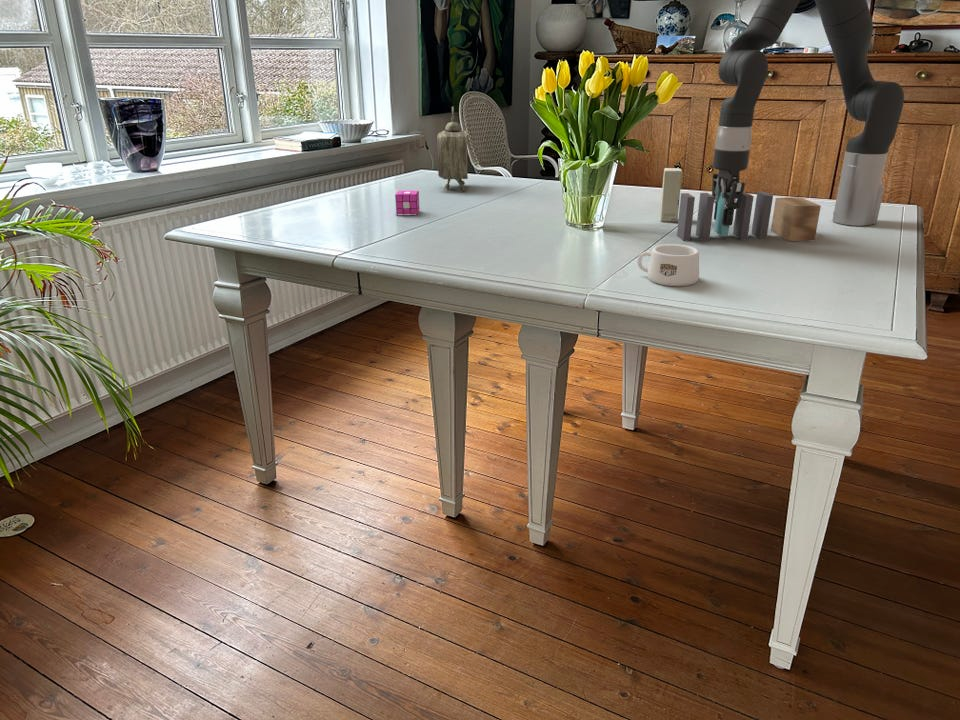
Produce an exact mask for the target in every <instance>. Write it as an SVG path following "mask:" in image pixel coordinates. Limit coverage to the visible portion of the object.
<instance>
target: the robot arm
mask: <svg viewBox="0 0 960 720" xmlns="http://www.w3.org/2000/svg"><path fill="white" fill-rule="evenodd" d="M814 1H815V4H816V7H817V10H818V12H819V16H820V20H821V22H822V26H823V29H824V32H825V36H826V38H827V40H828V41H827V42H828V43H829V45H830V50H831V52H832V55H833V58H834V62H835V64H836V67H837V72H838V74H839V78H840V83H841V89H842V93H843V99H844V102H845V107H846V109H847V112H848V114H849V116H850V117H851V119H854V120H855V121H857V122H858V121H859V122H865V124H864V129H863V130H862V132H860V134H858V135H856V136H853V137H851V138H849V139H848V140H847V142H846V145H845V152H844V157H843V162H842V168H841V171H840V172H841V173H840V178H839V179H840V180H839V183H838V189H837V195H836V199H835V204H834V211H833V213H832V221H833V222H834V223H837V224H840V225H846V226H856V227H857V226H860V227H863V226H871V225H877V223H878V218H879V215H880V214H879V213H880V209H881V204H882V200H883V197H884V196H883V195H884V191H885V185H884V184H882V182H883V178H884V172H885V169H886V162H887V158H888V154H889V150H890V146H891V145H892V143H893V141H894V140H895V137H896V134H897V132H898V131H897V130H898V127H899V126H898V125H899V123H900V118H901V116H902V112H903V109H904V104H905V103H904V102H905V93H904V89H903V86H902V85H900V84H899V83H898V82H895V81H885V80H883V81H882V80H875V78H874V77H873V75H872V72H871V69H870V65H869V62H868V53H869V52H868V51H869V47H870V43H871V40H872V35H873V31H874V22H873V19H872V14H871V10H870V9H869V8H870V7H869V4H868V2H867V0H814ZM800 2H801V0H761V1H760V3H759V4H758V7H757V8H756V10H755V12H754V13H753V15H752V17H751V19H750V20H749V23H748V25H747V26H746V27H745V29H743V30H742V32H740V33H739V35H738V36H737V37H736V38H735V40H734V41H733V42H732V43H731V44H730V45H729V46H728V48H727V49H726V50H725V52H724V53H723V55H722V57H721V58H720V62H719V65H718V77H719V79H720V81H721V82H722V83H724V84H725V85H729V86H737V88H736V90H735V91H734V95H733V96H730V97H727V98H725V99H724V100H723V101H722V103H721V106H720V113H719V120H718V126H717V127H718V128H717V132H716V136H715V142H714V152H713V159H712V160H713V161H712V168H713V169H714V170H717V171H718V173H713V174H712V185H711V187H712V188H711V195H712V196H714V210H713V213H714V214H713V220H714V221H715V220H716V212H717V203H718V198H719V194H720V192H722V199H724V211H723V219H722V225H724V226H729V227H730V226H732V225H733V224H734V222H733V221H734V217H735V210H736V208H739V207H740V203H741V199H742V195H743V192H745V186H746V183H745V182H741V179H740V172H741V171H745V170H747V169H748V165H749V161H750V160H749V159H750V151H751V143H752V138H753V136H752V134H753V132H752V131H753V129H752V128H753V121H754V115H755V114H754V113H755V107H756V104H757V102H758V100H759V99H760V95H761V93H762V90H763V87H764V85H765V82H766V79H767V77H768V72H769V62H768V59H767V56H766V55H765V53H764V52H763V51H762V50H764V49H767V48H770V47H773V46H774V45H775V44H776V42H777V41H778V39H779V38H780V37H781V34H782V33H783V30H785V28H786V26H787V23H788V22H789V20H790V19H791V16H792V15H793V14H794V12H795V11H796V8H797V6H798V5H799V3H800ZM719 189H720V192H719ZM726 192H730V195H727V194H726ZM732 201H733V203H732Z"/></svg>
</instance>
